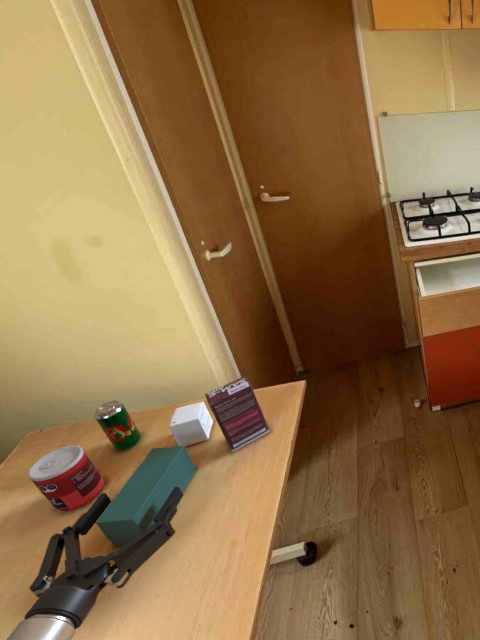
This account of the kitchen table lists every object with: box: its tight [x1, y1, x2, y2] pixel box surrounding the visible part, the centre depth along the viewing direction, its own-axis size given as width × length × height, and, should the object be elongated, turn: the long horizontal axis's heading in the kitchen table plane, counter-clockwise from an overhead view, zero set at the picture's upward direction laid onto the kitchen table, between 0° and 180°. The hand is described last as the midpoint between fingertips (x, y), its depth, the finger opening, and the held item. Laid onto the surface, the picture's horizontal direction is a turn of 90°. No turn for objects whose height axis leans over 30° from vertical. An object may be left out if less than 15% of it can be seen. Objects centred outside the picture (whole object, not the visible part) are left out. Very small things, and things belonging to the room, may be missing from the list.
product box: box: [168, 401, 214, 447], centre depth 102 cm, size 6×6×7 cm
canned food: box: [27, 444, 105, 513], centre depth 88 cm, size 8×8×11 cm
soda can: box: [94, 400, 142, 452], centre depth 99 cm, size 5×5×12 cm
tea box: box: [95, 445, 197, 548], centre depth 86 cm, size 6×16×8 cm, turn 6°
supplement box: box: [204, 375, 270, 453], centre depth 100 cm, size 9×5×16 cm, turn 135°
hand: (143, 493), depth 84 cm, fingers open, 13 cm apart
